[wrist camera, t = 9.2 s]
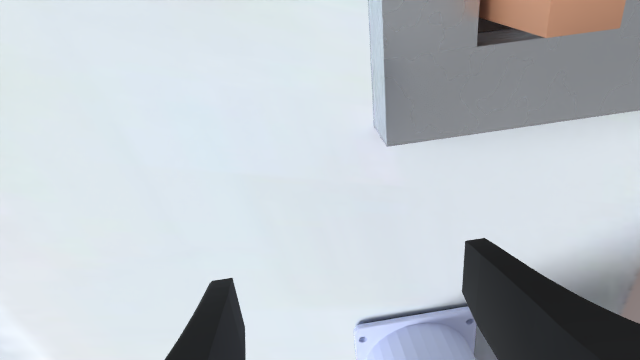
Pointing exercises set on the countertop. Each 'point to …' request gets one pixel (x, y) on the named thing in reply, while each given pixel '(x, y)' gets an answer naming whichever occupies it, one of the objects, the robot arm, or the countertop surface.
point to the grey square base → (491, 72)
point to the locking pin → (554, 15)
